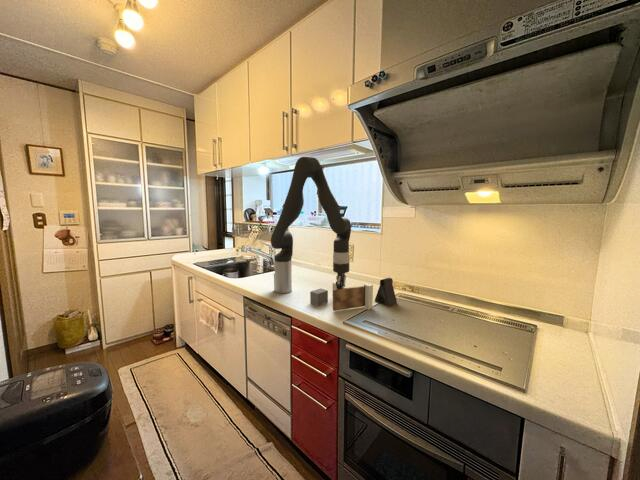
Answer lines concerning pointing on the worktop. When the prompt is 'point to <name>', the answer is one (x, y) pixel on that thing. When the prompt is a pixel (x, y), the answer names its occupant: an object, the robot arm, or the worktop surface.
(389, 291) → the door stopper
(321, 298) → the block
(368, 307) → the hinge post
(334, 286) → the post
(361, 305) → the door
